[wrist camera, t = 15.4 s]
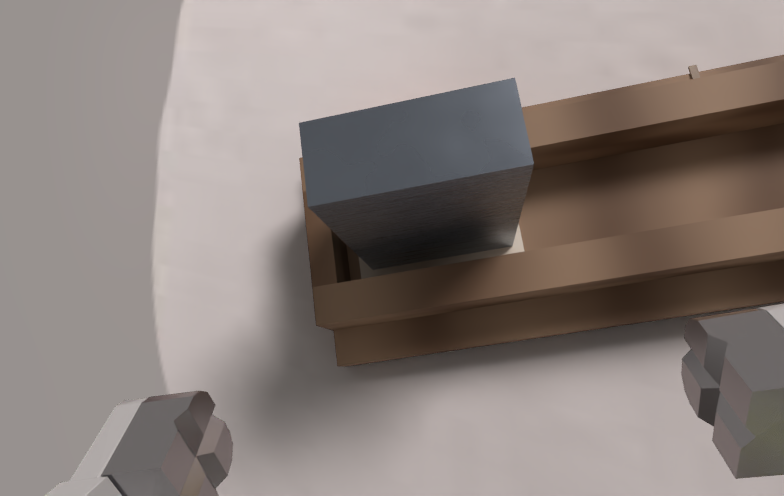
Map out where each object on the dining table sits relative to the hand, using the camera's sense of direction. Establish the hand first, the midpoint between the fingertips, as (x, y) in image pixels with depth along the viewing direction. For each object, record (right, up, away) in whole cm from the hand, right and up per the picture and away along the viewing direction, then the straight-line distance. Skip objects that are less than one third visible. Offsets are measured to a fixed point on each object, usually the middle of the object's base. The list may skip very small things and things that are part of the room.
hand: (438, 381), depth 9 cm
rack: (+9, +4, +14) cm, 17 cm away
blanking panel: (+1, +3, +14) cm, 14 cm away
